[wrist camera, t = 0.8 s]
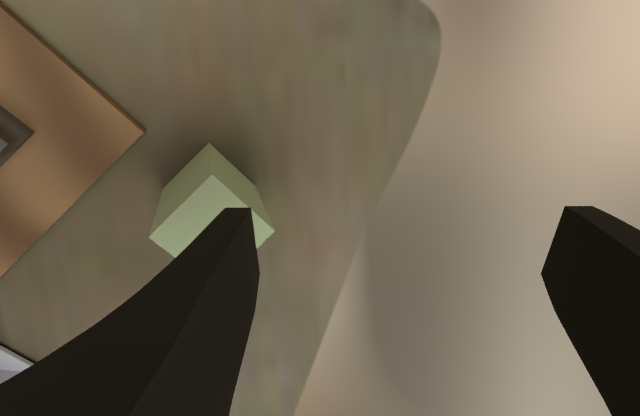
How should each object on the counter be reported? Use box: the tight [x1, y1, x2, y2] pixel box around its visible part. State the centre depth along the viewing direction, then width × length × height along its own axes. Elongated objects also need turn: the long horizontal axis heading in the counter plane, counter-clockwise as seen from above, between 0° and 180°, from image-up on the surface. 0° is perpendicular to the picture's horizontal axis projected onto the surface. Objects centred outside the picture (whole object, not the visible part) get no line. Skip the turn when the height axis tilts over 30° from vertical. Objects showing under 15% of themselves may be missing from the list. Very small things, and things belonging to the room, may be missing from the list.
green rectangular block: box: [149, 143, 275, 258], centre depth 24 cm, size 4×4×8 cm
